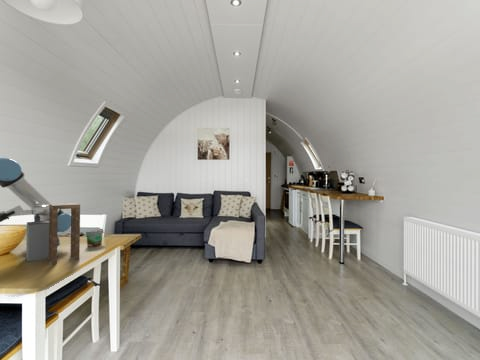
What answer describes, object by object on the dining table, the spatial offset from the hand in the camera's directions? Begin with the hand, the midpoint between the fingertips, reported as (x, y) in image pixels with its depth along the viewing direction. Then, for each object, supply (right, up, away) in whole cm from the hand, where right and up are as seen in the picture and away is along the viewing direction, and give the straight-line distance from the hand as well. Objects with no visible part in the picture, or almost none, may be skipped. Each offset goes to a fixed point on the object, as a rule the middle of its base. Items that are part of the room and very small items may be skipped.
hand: (21, 207), depth 133 cm
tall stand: (+21, -28, +3) cm, 35 cm away
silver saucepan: (+1, -4, +2) cm, 4 cm away
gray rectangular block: (+5, -28, +5) cm, 29 cm away
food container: (+22, -29, +33) cm, 49 cm away
